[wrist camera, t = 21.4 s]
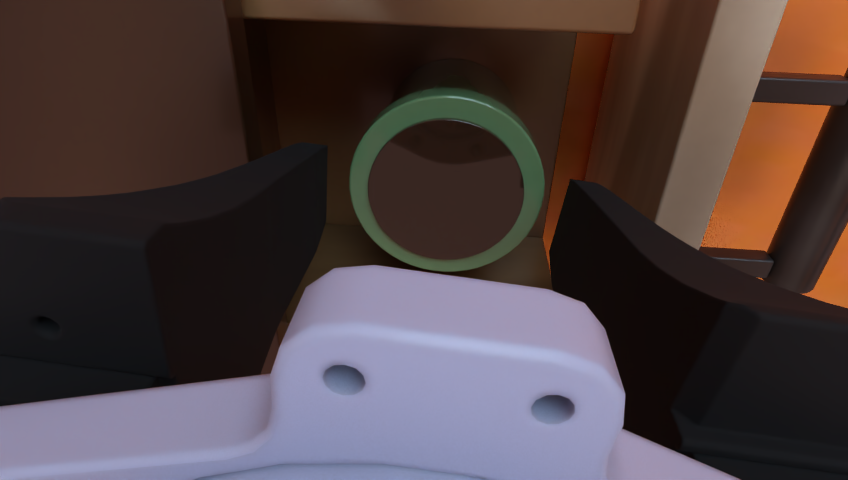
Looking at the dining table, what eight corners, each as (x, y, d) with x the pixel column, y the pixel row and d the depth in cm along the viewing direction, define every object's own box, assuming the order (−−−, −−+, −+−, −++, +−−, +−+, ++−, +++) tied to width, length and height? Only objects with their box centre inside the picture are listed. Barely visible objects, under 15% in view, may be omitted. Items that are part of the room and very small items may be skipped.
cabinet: (329, -101, 16) (206, -108, 9) (349, 243, 22) (289, 406, 15) (-103, -114, 17) (-554, -131, 9) (37, 223, 23) (-165, 369, 16)
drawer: (853, -60, 15) (1099, -39, 9) (724, 267, 20) (822, 408, 15) (239, -79, 16) (100, -72, 10) (282, 238, 21) (211, 361, 16)
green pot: (349, 96, 17) (308, 158, 13) (484, 15, 15) (488, 55, 11) (425, 213, 19) (412, 300, 15) (552, 152, 17) (577, 230, 13)
